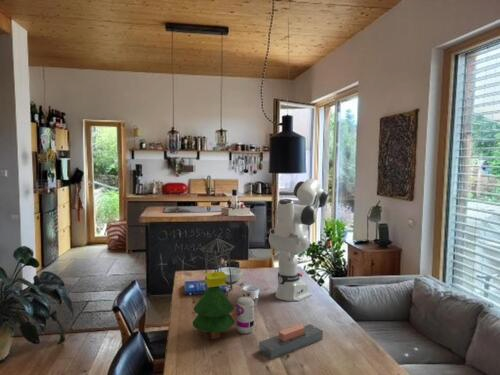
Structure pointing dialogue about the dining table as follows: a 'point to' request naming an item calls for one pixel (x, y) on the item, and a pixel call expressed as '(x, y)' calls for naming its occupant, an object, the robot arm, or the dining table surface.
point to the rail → (289, 342)
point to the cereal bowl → (232, 274)
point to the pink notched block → (291, 333)
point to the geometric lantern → (218, 258)
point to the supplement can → (245, 315)
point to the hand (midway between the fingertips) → (284, 259)
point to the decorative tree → (213, 307)
